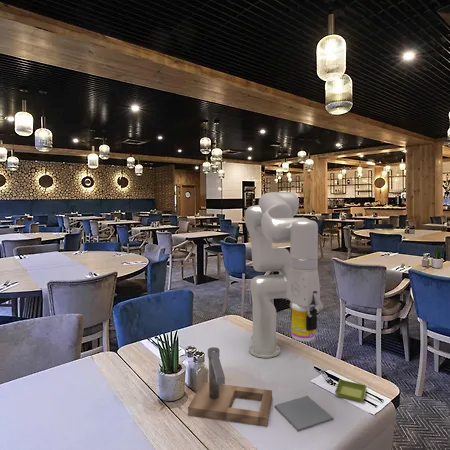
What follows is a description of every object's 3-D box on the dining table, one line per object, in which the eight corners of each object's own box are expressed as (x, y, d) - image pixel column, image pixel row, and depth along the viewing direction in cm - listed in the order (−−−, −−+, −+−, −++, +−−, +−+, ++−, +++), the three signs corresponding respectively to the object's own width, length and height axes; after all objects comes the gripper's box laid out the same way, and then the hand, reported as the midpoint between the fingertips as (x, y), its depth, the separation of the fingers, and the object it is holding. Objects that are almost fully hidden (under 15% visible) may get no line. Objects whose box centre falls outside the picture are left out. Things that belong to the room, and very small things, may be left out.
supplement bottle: (310, 344, 94) (311, 298, 93) (287, 339, 98) (288, 294, 97) (318, 335, 100) (318, 292, 99) (296, 331, 103) (296, 289, 102)
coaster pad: (274, 407, 104) (274, 405, 104) (307, 397, 108) (307, 395, 108) (297, 431, 93) (297, 429, 93) (333, 419, 97) (333, 417, 97)
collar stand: (188, 415, 100) (187, 365, 99) (202, 389, 114) (201, 345, 113) (266, 426, 95) (266, 374, 94) (272, 397, 108) (272, 352, 107)
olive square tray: (339, 384, 116) (339, 378, 116) (366, 391, 112) (367, 385, 112) (334, 398, 109) (334, 392, 108) (364, 405, 105) (364, 399, 104)
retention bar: (207, 354, 106) (207, 347, 106) (218, 353, 107) (218, 346, 106) (214, 385, 88) (213, 377, 88) (227, 383, 89) (227, 376, 89)
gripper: (276, 259, 103) (276, 317, 105) (312, 271, 88) (311, 338, 89) (296, 257, 106) (296, 314, 108) (335, 268, 91) (334, 334, 92)
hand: (303, 324), depth 98 cm, fingers closed on supplement bottle, 6 cm apart
